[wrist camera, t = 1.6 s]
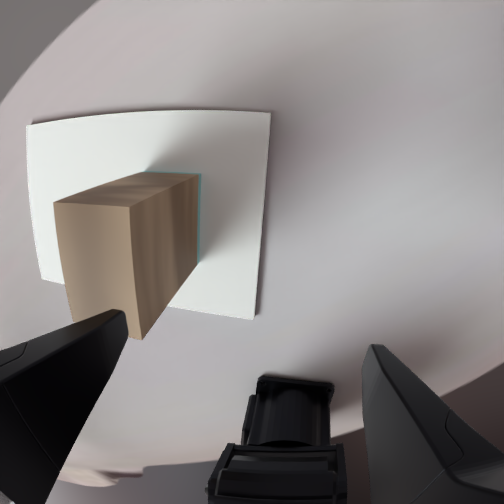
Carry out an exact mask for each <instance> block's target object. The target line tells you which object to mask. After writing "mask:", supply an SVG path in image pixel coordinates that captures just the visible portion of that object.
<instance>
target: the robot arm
mask: <svg viewBox="0 0 504 504" xmlns="http://www.w3.org/2000/svg"><path fill="white" fill-rule="evenodd" d="M128 335H129V331H128V325H127V319H126V314H125V312H124V311H122V310H118V309H110V310H108V311H105V312H103V313H100V314H97V315H95V316H92V317H90V318H87V319H84V320H82V321H79V322H76V323H74V324H71V325H69V326H66V327H63V328H61V329H58V330H55V331H53V332H50V333H48V334H45V335H42V336H40V337H37V338H34V339H32V340H29V341H28V342H27V341H26V342H24V343H21V344H19V345H16V346H13V347H10V348H7V349H4V350H1V351H0V504H10V503H11V504H45V502H46V500H47V498H48V496H49V494H50V492H51V490H52V488H53V486H54V484H55V481H56V479H57V477H58V475H59V473H60V471H61V469H62V467H63V465H64V463H65V461H66V459H67V457H68V455H69V453H70V451H71V449H72V447H73V445H74V443H75V441H76V439H77V437H78V435H79V433H80V432H81V430H82V428H83V426H84V424H85V422H86V420H87V418H88V416H89V415H90V413H91V411H92V409H93V407H94V405H95V404H96V402H97V400H98V398H99V396H100V395H101V393H102V391H103V389H104V387H105V386H106V384H107V382H108V380H109V379H110V377H111V375H112V373H113V371H114V369H115V366H116V364H117V362H118V359H119V357H120V355H121V352H122V350H123V348H124V346H125V343H126V341H127V339H128ZM263 382H265V383H263ZM333 394H334V385H333V384H330V383H319V382H308V381H299V380H289V379H281V378H273V377H265V376H261V377H259V378H258V381H257V387H256V395H253V394H252V395H251V396H250V397H249V402H248V406H247V411H246V415H245V420H244V424H243V428H242V438H241V445H235V443H228V444H227V446H226V448H225V450H224V451H223V452H222V454H221V456H220V459H219V461H218V463H217V465H216V467H215V469H214V471H213V473H212V475H211V477H210V479H209V481H208V485H207V486H206V487H205V493H206V495H207V496H208V504H347V476H346V465H345V457H344V448H343V443H337V444H336V445H331V442H330V441H331V436H330V406H329V405H330V402H331V399H332V396H333ZM362 406H363V421H364V429H365V438H366V447H367V456H368V466H369V479H370V492H371V504H504V453H503V452H502V451H500V450H499V449H498V448H497V447H495V446H494V445H493V444H491V443H490V442H489V441H488V440H486V439H485V438H484V437H483V436H481V435H480V434H479V433H478V432H477V431H475V430H474V429H473V428H472V427H470V426H469V425H468V424H467V423H466V422H465V421H464V420H463V419H462V418H461V417H459V416H458V415H457V414H456V413H455V412H454V411H453V410H452V409H450V407H449V406H448V405H447V404H446V403H444V401H443V400H442V399H441V398H439V397H438V396H437V395H436V394H435V393H434V392H433V391H432V390H431V389H430V388H429V387H428V386H427V385H426V384H425V383H424V382H423V381H422V380H420V379H419V378H418V377H417V376H416V375H415V374H414V373H413V372H412V371H411V370H410V369H409V368H408V367H407V366H406V365H404V364H403V363H402V362H401V361H400V360H399V359H398V358H397V357H396V356H395V355H394V354H393V353H392V352H390V351H389V350H388V349H387V348H386V347H385V346H384V345H381V344H371V345H370V346H369V348H368V351H367V354H366V357H365V360H364V363H363V366H362ZM449 409H450V410H449Z"/></svg>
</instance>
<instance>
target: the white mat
mask: <svg viewBox="0 0 504 504" xmlns="http://www.w3.org/2000/svg"><path fill="white" fill-rule="evenodd" d="M270 122H271V113H264V112H247V111H222V110H170V111H145V112H129V113H116V114H105V115H95V116H86V117H78V118H70V119H63V120H57V121H50V122H44V123H39V124H33V125H28V126H27V128H26V146H27V174H28V189H29V200H30V209H31V218H32V226H33V233H34V239H35V246H36V251H37V257H38V262H39V268H40V272H41V277H42V279H44V280H48V281H52V282H56V283H60V284H64V285H65V283H64V278H63V272H62V267H61V261H60V255H59V248H58V241H57V234H56V226H55V217H54V207H53V202H55V201H58V200H60V199H63V198H65V197H68V196H71V195H73V194H76V193H79V192H82V191H85V190H87V189H90V188H93V187H96V186H99V185H102V184H105V183H108V182H111V181H114V180H117V179H120V178H123V177H126V176H129V175H133V174H136V173H139V172H143V171H160V172H183V173H201V195H200V250H199V263H198V265H197V266H196V267H195V269H194V270H193V271H192V273H191V274H190V275H189V277H188V278H187V279H186V281H185V282H184V283H183V285H182V286H181V287H180V289H179V290H178V292H177V293H176V294H175V296H174V297H173V298H172V300H171V301H170V302H169V304H168V305H167V306H169V307H175V308H180V309H186V310H192V311H198V312H204V313H210V314H217V315H223V316H230V317H236V318H243V319H250V320H254V317H255V306H256V294H257V283H258V271H259V259H260V247H261V235H262V223H263V211H264V198H265V186H266V173H267V161H268V148H269V135H270Z"/></svg>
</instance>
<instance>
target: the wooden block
mask: <svg viewBox="0 0 504 504" xmlns="http://www.w3.org/2000/svg"><path fill="white" fill-rule="evenodd" d="M200 195H201V173H183V172H160V171H143V172H139V173H136V174H133V175H129V176H126V177H123V178H120V179H117V180H114V181H111V182H108V183H105V184H102V185H99V186H96V187H93V188H90V189H87V190H85V191H82V192H79V193H76V194H73V195H71V196H68V197H65V198H63V199H60V200H58V201H55V202H53V207H54V217H55V226H56V234H57V241H58V248H59V255H60V261H61V267H62V272H63V278H64V283H65V288H66V293H67V297H68V302H69V306H70V310H71V315H72V319H73V322H75V323H76V322H79V321H82V320H84V319H87V318H90V317H92V316H95V315H97V314H100V313H103V312H105V311H108V310H110V309H118V310H122V311H124V312H125V314H126V319H127V325H128V331H129V335H128V337H130V338H134V339H138V340H143V338H144V337H145V336H146V334H147V333H148V331H149V330H150V329H151V327H152V326H153V324H154V323H155V322H156V320H157V319H158V317H159V316H160V315H161V313H162V312H163V311H164V309H165V308H166V306H167V305H168V304H169V302H170V301H171V300H172V298H173V297H174V296H175V294H176V293H177V292H178V290H179V289H180V287H181V286H182V285H183V283H184V282H185V281H186V279H187V278H188V277H189V275H190V274H191V273H192V271H193V270H194V269H195V267H196V266H197V265H198V263H199V250H200Z"/></svg>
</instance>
